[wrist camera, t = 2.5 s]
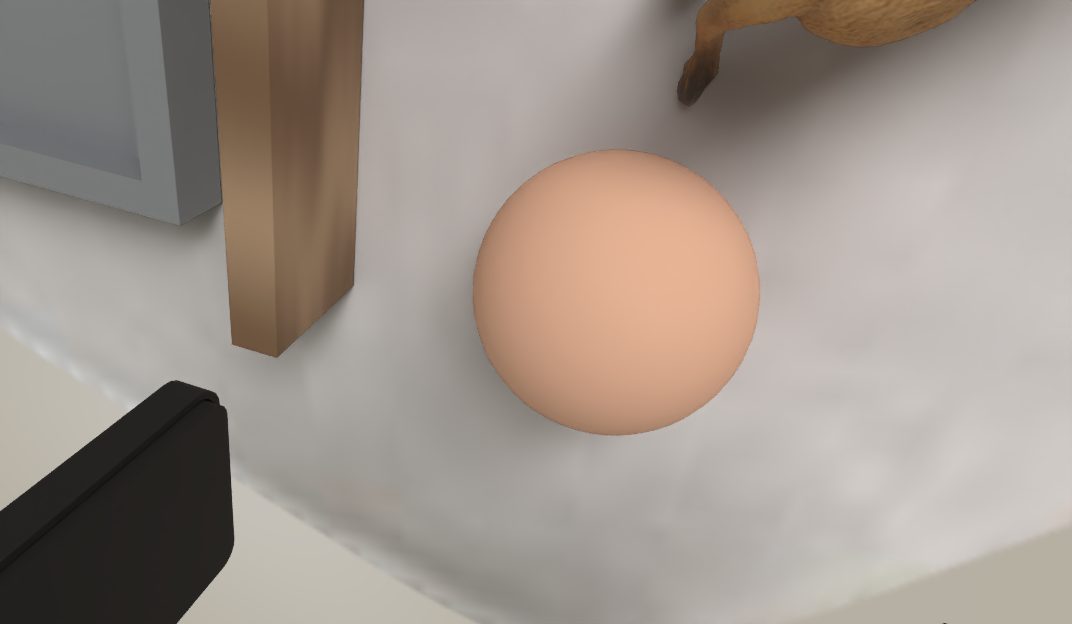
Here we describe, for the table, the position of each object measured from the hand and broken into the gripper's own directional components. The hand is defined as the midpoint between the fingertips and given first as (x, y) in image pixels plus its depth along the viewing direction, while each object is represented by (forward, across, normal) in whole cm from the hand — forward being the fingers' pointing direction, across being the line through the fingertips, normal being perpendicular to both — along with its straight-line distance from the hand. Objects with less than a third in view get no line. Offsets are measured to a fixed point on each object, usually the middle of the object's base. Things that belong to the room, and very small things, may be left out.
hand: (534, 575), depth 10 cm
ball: (+10, 0, -1) cm, 10 cm away
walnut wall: (+10, +8, -4) cm, 14 cm away
